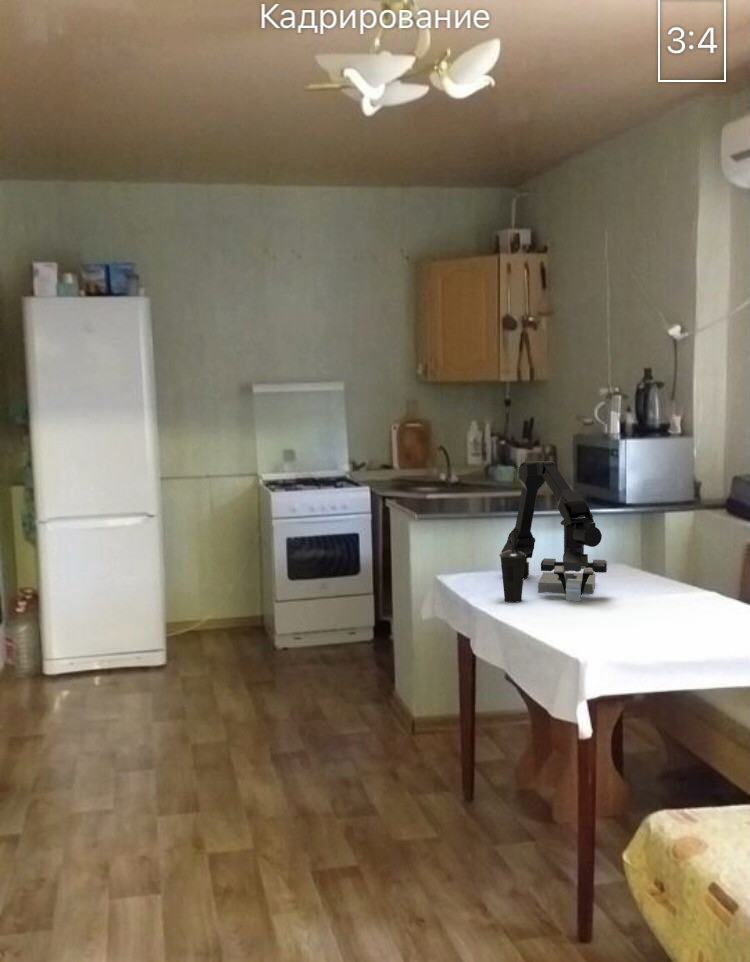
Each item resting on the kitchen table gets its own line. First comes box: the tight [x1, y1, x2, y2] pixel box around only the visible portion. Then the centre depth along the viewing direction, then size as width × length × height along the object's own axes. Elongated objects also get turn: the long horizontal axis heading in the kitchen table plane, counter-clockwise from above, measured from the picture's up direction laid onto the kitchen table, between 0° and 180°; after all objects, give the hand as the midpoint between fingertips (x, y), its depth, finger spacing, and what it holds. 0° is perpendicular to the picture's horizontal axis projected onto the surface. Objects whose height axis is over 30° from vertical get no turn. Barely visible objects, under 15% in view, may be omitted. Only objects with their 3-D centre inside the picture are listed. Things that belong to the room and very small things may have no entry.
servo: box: [565, 579, 583, 602], centre depth 305 cm, size 4×10×5 cm, turn 165°
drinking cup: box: [499, 531, 526, 603], centre depth 302 cm, size 8×8×20 cm
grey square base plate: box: [537, 571, 596, 595], centre depth 319 cm, size 16×16×3 cm
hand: (574, 594), depth 305 cm, fingers closed on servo, 4 cm apart
